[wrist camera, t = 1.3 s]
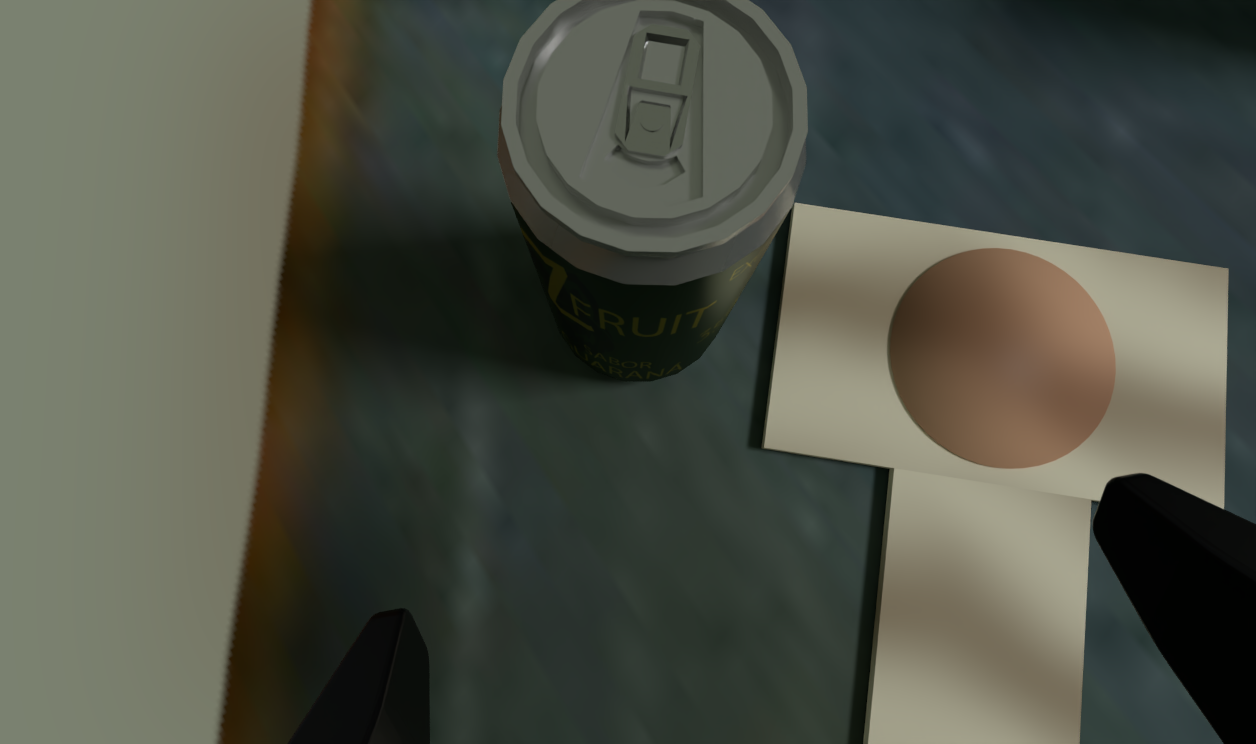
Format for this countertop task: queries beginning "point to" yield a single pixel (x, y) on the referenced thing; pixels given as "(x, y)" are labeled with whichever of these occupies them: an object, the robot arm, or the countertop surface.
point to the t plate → (991, 443)
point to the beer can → (650, 168)
